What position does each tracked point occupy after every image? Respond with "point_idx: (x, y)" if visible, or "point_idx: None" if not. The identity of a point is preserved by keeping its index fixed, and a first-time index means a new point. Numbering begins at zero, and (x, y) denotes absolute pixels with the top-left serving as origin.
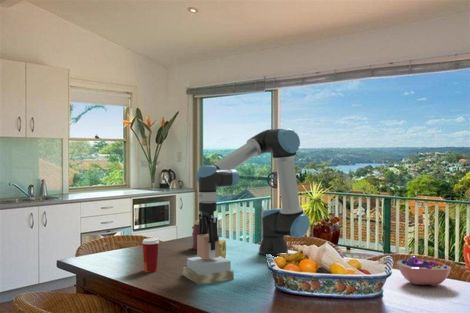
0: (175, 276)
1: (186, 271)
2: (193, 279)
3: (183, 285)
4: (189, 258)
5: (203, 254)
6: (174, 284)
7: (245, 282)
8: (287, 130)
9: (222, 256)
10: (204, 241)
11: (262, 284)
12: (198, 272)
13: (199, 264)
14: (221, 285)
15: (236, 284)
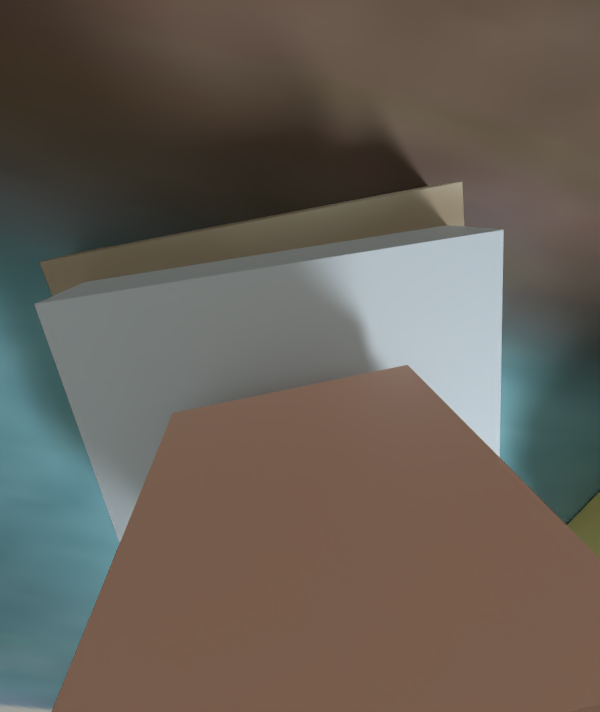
0: (418, 94)
1: (368, 198)
2: (189, 231)
3: (78, 99)
4: (469, 257)
5: (184, 440)
6: (133, 7)
7: (71, 587)
8: None
9: None
10: (78, 679)
11: (3, 664)
12: (106, 280)
13: (73, 313)
14: (20, 426)
15: (30, 527)
